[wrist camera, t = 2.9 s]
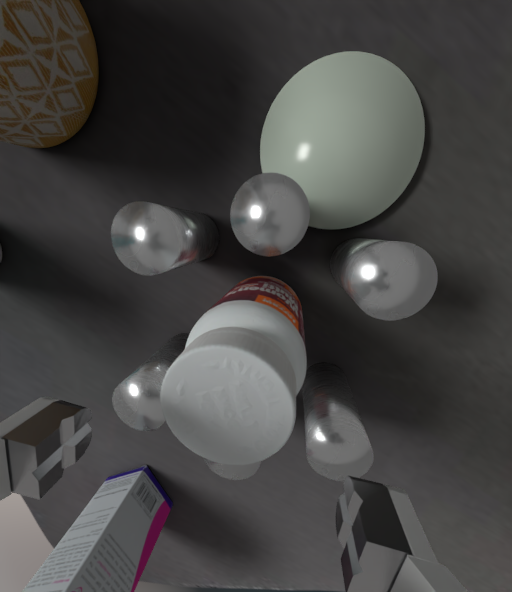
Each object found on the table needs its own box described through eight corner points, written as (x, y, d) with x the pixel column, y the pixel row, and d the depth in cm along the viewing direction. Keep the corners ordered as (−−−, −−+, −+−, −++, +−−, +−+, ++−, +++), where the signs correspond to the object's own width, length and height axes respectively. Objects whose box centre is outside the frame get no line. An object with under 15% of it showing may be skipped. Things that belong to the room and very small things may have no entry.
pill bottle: (306, 278, 19) (325, 343, 8) (297, 352, 20) (301, 491, 9) (227, 270, 19) (142, 319, 8) (224, 342, 21) (149, 460, 10)
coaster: (274, 51, 15) (274, 44, 15) (444, 66, 14) (450, 58, 14) (251, 218, 18) (249, 217, 17) (392, 240, 17) (395, 240, 16)
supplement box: (106, 476, 27) (-21, 642, 16) (147, 463, 26) (39, 635, 15) (133, 515, 28) (31, 696, 17) (175, 504, 27) (93, 695, 16)
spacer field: (178, 180, 18) (110, 150, 11) (397, 212, 17) (468, 198, 10) (165, 384, 23) (112, 447, 16) (335, 424, 21) (354, 512, 15)
